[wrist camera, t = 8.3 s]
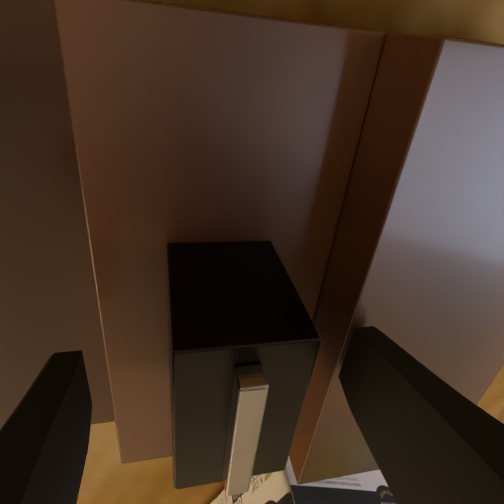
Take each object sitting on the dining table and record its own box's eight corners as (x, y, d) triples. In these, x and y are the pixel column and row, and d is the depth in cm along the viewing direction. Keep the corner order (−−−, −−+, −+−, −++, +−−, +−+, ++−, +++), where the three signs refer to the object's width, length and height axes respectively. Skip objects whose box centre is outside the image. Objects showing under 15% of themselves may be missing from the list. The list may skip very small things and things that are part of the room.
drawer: (169, 367, 13) (174, 517, 9) (166, 242, 10) (172, 379, 6) (253, 359, 13) (291, 494, 10) (271, 240, 11) (334, 361, 7)
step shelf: (-35, 401, 17) (-115, 563, 12) (-248, -47, 8) (-828, -135, 3) (376, 357, 22) (441, 458, 17) (500, 50, 13) (702, 70, 8)
